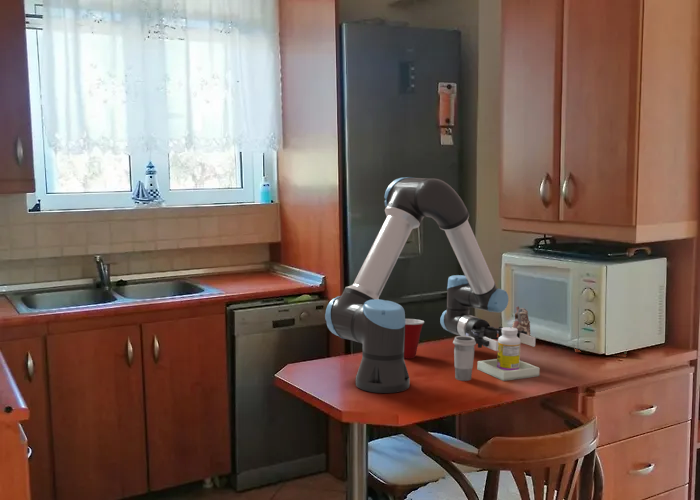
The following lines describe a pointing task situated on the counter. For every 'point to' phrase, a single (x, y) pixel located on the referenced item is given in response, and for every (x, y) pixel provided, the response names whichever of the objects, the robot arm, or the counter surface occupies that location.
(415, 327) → the plastic cup
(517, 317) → the figurine
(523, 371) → the tray
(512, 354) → the supplement bottle
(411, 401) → the counter surface
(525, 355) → the counter surface
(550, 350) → the counter surface
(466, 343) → the cup
